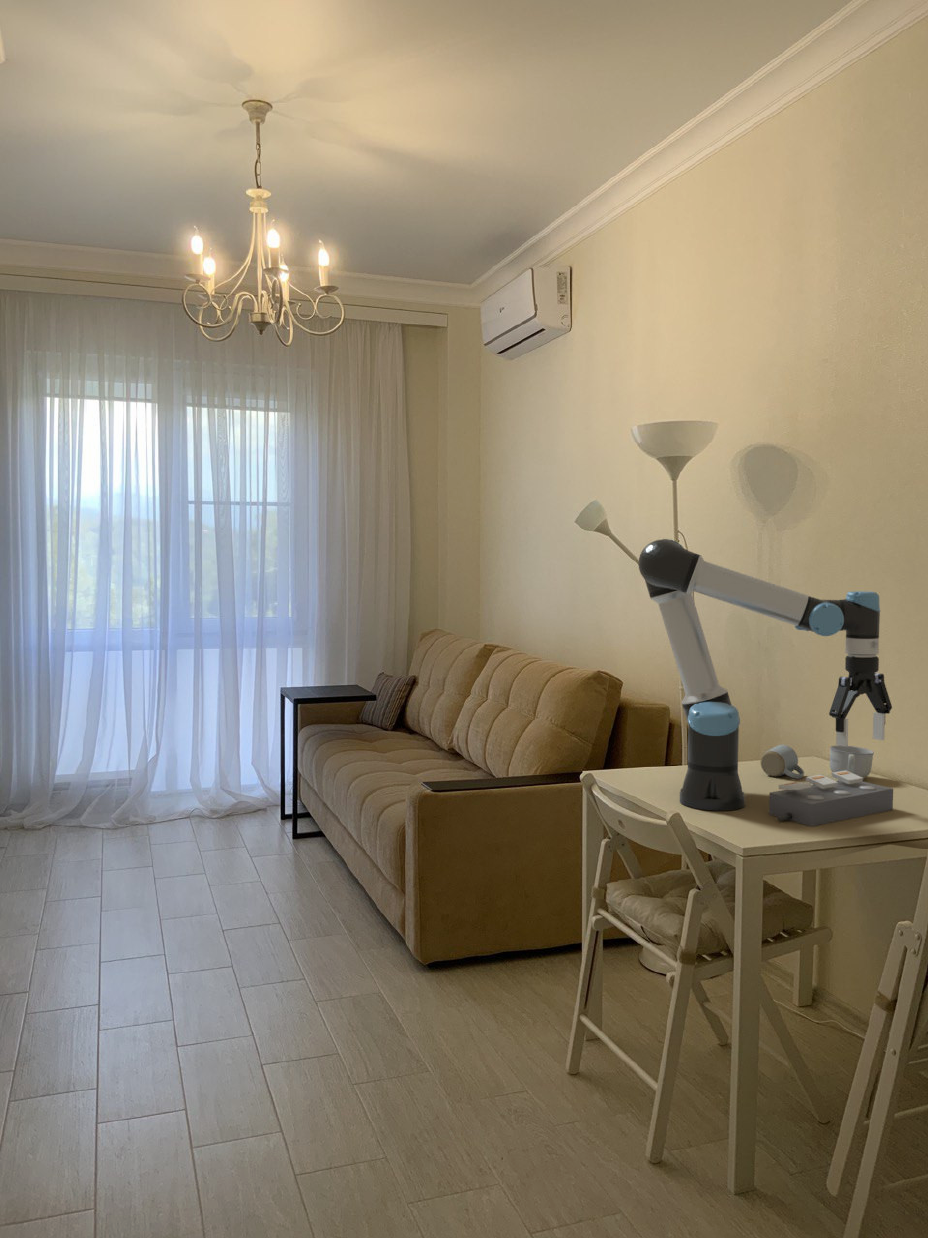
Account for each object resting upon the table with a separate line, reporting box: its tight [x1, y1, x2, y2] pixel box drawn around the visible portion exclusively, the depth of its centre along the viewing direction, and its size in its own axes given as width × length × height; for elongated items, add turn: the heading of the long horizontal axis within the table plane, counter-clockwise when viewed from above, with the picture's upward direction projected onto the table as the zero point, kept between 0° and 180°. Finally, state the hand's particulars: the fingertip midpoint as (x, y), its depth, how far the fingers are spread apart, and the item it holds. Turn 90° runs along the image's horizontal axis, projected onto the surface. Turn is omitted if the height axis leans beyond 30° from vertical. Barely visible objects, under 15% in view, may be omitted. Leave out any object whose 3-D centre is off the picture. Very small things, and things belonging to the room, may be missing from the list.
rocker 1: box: [778, 781, 812, 791], centre depth 234 cm, size 5×5×1 cm
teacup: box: [829, 745, 874, 780], centre depth 270 cm, size 14×11×8 cm
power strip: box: [768, 780, 894, 827], centre depth 235 cm, size 32×12×5 cm, turn 121°
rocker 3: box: [830, 770, 864, 784], centre depth 243 cm, size 5×5×1 cm
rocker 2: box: [805, 774, 838, 789], centre depth 239 cm, size 5×5×1 cm
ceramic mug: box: [760, 744, 805, 780], centre depth 274 cm, size 11×8×8 cm
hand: (860, 742), depth 248 cm, fingers open, 13 cm apart
